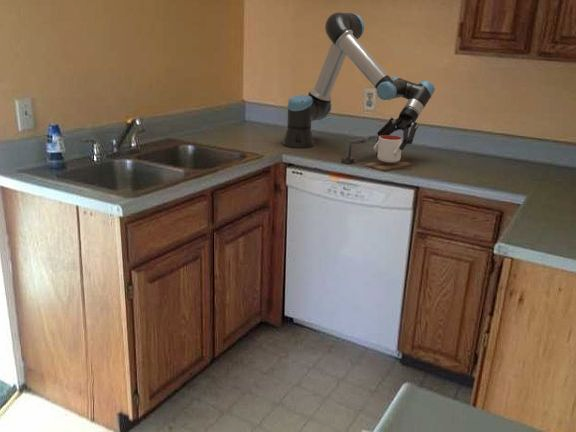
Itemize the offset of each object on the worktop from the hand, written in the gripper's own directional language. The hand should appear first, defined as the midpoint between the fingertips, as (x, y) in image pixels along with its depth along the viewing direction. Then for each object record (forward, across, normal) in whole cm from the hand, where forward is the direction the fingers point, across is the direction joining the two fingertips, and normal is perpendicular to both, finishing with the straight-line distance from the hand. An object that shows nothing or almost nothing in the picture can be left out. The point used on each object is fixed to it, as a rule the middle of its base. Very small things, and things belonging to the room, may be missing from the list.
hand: (384, 152), depth 232 cm
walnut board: (+2, 0, -7) cm, 7 cm away
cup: (+1, 0, -5) cm, 5 cm away
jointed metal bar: (+2, +14, -7) cm, 15 cm away
